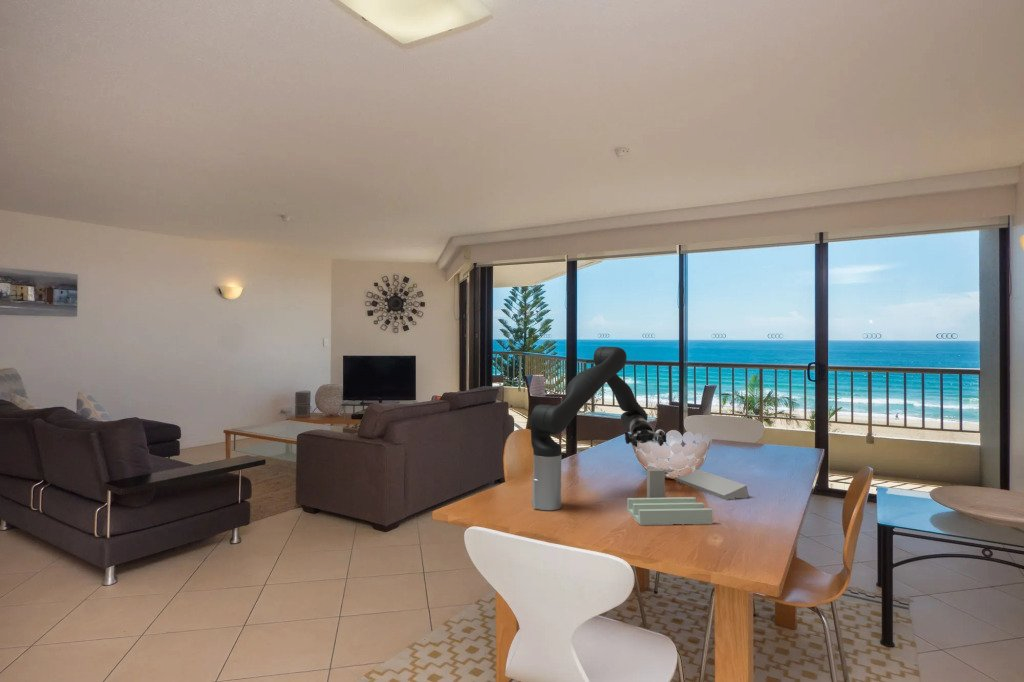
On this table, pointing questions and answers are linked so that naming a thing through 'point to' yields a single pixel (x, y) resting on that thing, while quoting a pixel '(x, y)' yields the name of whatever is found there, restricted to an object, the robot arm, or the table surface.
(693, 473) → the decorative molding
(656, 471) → the grey rectangular block
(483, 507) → the table surface
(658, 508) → the pale green ridged block
